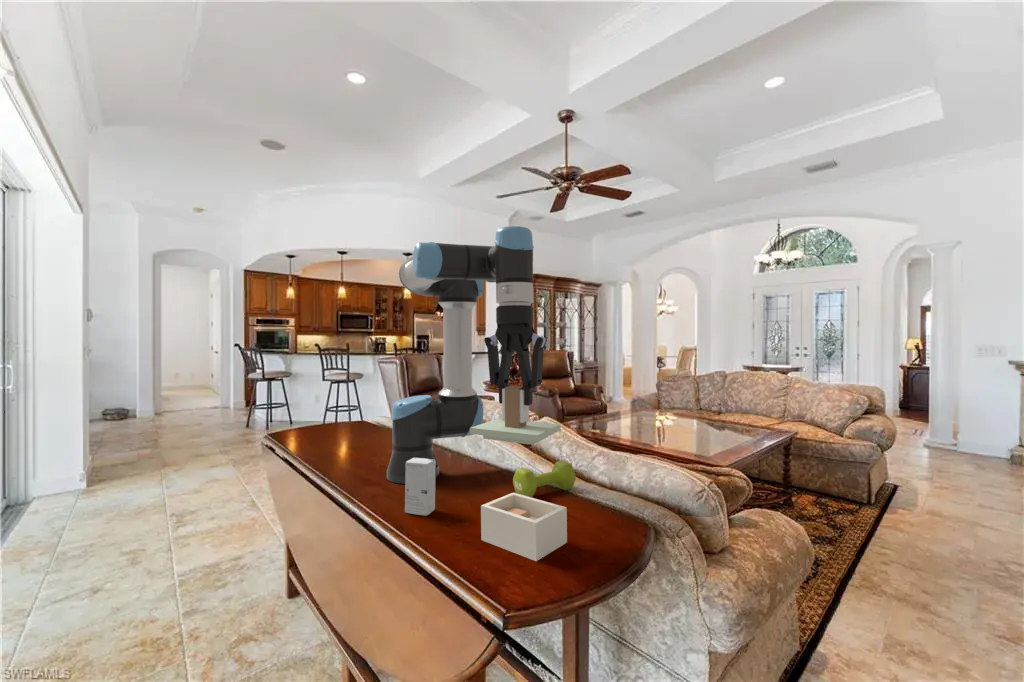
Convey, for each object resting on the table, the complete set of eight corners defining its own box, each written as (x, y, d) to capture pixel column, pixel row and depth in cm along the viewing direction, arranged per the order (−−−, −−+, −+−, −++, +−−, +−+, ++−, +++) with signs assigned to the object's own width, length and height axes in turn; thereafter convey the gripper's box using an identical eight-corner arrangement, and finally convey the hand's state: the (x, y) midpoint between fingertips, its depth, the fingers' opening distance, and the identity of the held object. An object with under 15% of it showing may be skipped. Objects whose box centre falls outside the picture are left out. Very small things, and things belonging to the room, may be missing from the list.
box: (481, 540, 94) (480, 505, 94) (513, 524, 101) (513, 492, 101) (536, 561, 85) (535, 523, 85) (567, 542, 92) (566, 507, 92)
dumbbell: (560, 483, 130) (560, 457, 130) (578, 491, 123) (578, 464, 123) (510, 494, 121) (509, 466, 121) (526, 503, 115) (526, 474, 114)
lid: (470, 439, 93) (469, 388, 93) (497, 429, 103) (497, 382, 103) (537, 448, 86) (537, 392, 86) (560, 436, 96) (560, 385, 96)
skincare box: (404, 513, 109) (403, 461, 108) (413, 506, 113) (413, 457, 113) (427, 516, 107) (427, 463, 107) (436, 509, 111) (436, 458, 111)
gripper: (470, 305, 94) (471, 420, 95) (543, 302, 87) (544, 427, 87) (489, 307, 101) (490, 414, 102) (559, 304, 93) (559, 420, 94)
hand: (515, 420), depth 94 cm, fingers closed on lid, 3 cm apart
